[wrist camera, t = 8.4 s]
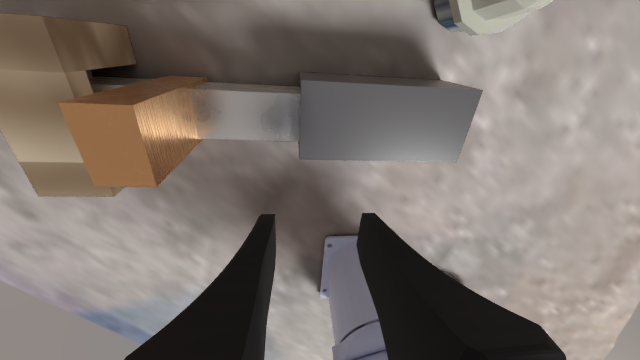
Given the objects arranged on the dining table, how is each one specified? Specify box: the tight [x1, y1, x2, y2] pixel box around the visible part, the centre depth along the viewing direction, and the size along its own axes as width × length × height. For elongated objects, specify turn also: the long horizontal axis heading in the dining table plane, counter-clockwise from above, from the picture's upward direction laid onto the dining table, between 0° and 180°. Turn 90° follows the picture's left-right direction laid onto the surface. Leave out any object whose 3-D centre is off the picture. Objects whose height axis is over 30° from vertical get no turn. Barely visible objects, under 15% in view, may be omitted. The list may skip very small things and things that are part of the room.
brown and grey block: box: [58, 76, 301, 187], centre depth 14 cm, size 4×16×9 cm, turn 87°
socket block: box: [0, 13, 136, 197], centre depth 15 cm, size 9×4×6 cm, turn 176°
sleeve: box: [298, 72, 483, 162], centre depth 17 cm, size 5×11×5 cm, turn 87°
